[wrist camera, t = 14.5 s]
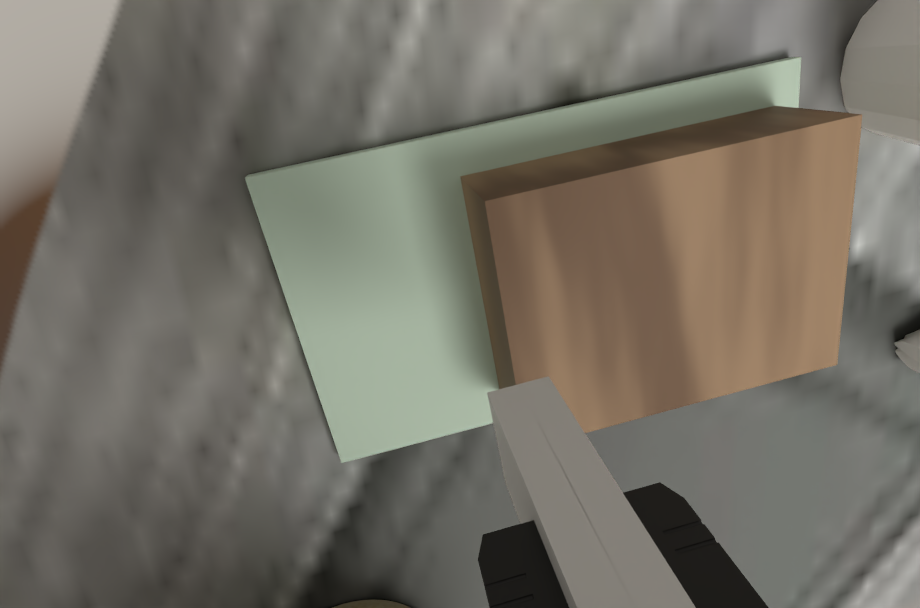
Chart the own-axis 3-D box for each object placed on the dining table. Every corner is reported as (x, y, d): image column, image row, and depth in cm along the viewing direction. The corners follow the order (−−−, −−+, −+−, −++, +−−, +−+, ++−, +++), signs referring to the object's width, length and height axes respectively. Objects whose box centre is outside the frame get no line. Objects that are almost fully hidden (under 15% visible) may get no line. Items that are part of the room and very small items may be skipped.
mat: (341, 454, 24) (341, 463, 24) (247, 175, 20) (244, 177, 19) (775, 339, 26) (784, 345, 26) (789, 57, 21) (801, 57, 21)
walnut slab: (526, 448, 20) (836, 364, 21) (484, 201, 17) (862, 114, 18) (499, 390, 24) (765, 320, 25) (460, 176, 20) (774, 105, 21)
